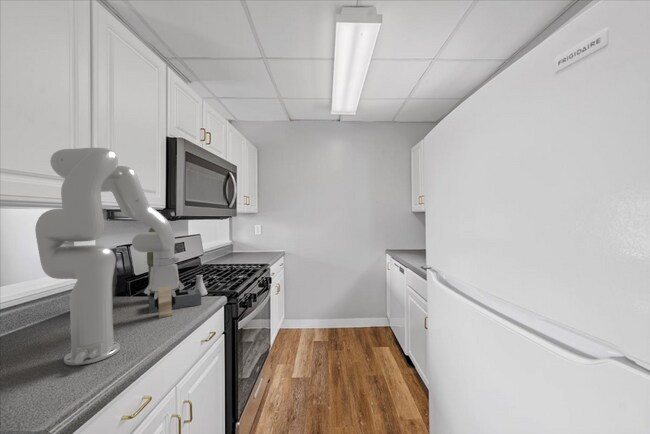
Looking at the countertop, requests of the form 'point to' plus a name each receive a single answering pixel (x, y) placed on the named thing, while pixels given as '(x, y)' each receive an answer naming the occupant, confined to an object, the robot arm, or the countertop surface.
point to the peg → (165, 301)
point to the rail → (180, 300)
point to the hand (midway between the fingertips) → (165, 306)
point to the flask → (200, 285)
